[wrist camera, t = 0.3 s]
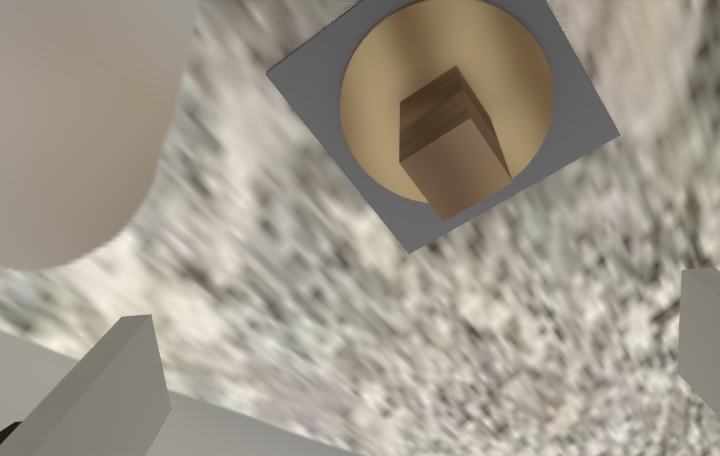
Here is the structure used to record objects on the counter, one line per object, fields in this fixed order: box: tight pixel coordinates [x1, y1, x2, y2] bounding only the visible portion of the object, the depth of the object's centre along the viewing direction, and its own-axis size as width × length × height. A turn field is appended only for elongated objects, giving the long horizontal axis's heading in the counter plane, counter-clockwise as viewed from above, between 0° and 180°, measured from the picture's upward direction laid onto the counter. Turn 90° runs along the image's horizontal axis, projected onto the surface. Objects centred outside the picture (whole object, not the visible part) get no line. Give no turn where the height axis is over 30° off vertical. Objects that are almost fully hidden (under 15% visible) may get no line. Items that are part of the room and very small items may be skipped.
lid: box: [340, 0, 554, 222], centre depth 34 cm, size 13×13×10 cm
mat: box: [266, 0, 620, 254], centre depth 39 cm, size 16×16×1 cm
